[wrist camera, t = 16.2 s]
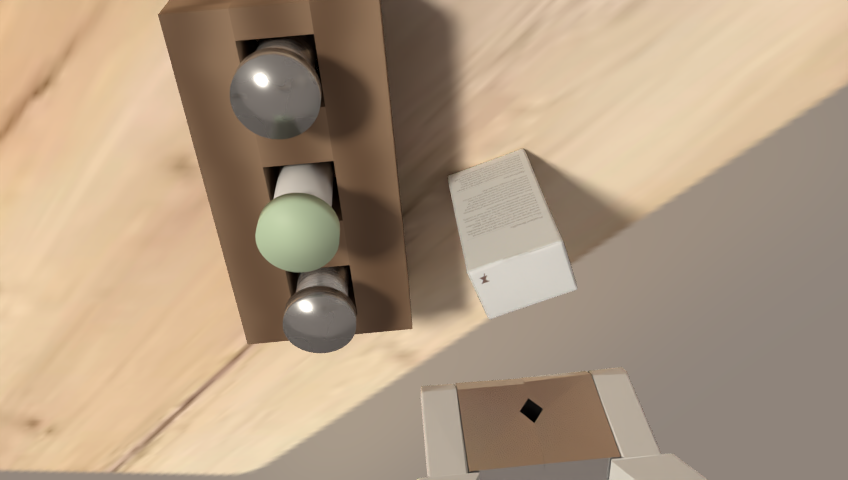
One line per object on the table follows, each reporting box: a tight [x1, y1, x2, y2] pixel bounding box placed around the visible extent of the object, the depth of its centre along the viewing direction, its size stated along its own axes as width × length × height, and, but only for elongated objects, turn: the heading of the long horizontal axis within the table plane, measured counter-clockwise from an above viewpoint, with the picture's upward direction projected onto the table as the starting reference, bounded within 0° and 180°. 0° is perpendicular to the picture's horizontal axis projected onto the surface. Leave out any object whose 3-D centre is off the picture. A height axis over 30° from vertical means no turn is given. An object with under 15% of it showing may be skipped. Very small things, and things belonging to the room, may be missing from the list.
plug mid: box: [255, 161, 340, 272], centre depth 46 cm, size 5×5×9 cm
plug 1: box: [230, 34, 322, 140], centre depth 43 cm, size 5×5×9 cm
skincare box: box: [448, 149, 577, 319], centre depth 49 cm, size 6×4×12 cm
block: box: [158, 0, 412, 344], centre depth 49 cm, size 12×24×6 cm, turn 4°
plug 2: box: [283, 265, 356, 353], centre depth 52 cm, size 5×5×9 cm
